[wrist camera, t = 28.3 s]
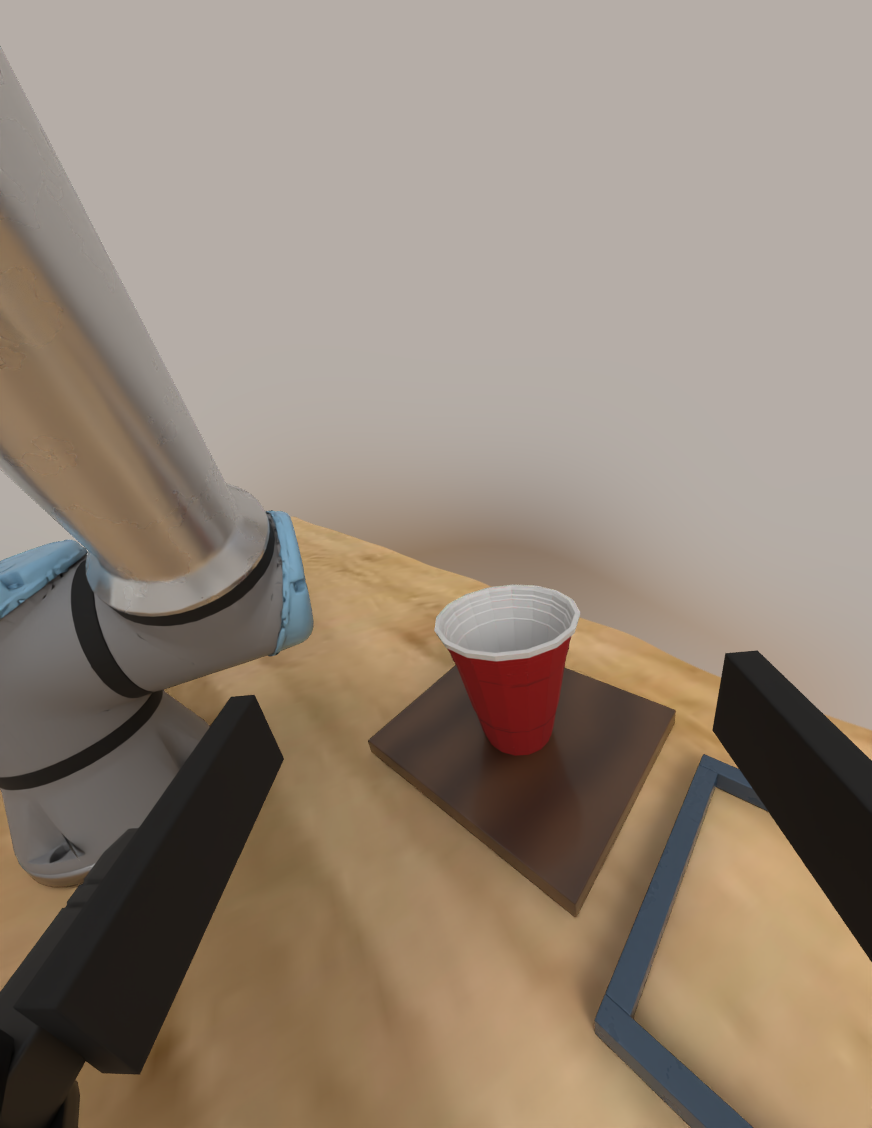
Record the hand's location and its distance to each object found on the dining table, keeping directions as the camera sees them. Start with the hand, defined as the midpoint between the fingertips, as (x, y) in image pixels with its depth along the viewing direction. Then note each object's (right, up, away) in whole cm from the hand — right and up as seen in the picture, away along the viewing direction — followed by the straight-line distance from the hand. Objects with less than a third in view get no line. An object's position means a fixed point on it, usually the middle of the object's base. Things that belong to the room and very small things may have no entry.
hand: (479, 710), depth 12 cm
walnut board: (+6, -11, +25) cm, 28 cm away
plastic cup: (+6, -10, +24) cm, 27 cm away
